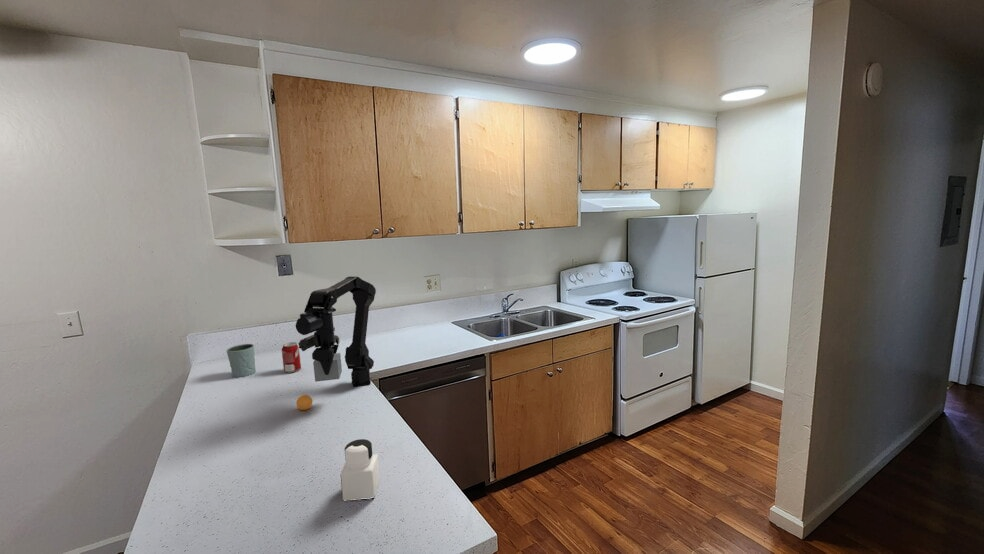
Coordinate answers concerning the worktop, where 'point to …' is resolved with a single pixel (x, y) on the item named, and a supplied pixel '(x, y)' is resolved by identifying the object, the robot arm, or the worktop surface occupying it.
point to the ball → (304, 402)
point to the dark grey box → (334, 370)
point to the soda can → (291, 357)
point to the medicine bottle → (359, 471)
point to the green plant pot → (242, 360)
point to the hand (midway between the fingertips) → (328, 370)
